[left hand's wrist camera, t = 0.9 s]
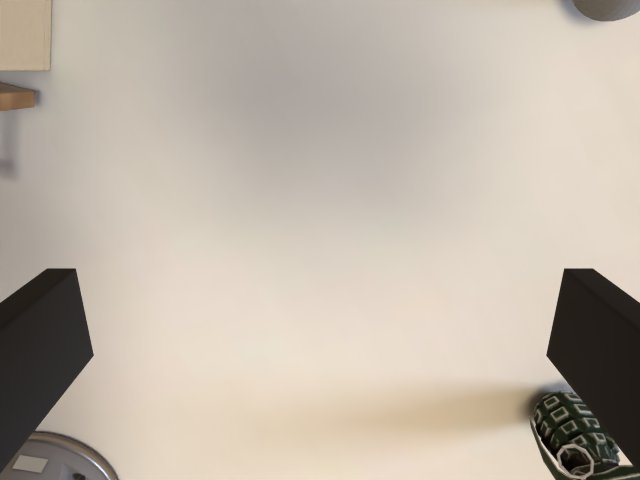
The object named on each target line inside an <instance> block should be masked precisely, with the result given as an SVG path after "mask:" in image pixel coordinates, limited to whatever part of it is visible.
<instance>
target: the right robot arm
mask: <svg viewBox="0 0 640 480" xmlns="http://www.w3.org/2000/svg"><path fill="white" fill-rule="evenodd" d="M0 480H117V478H116V476H115V474H114V472H113V471H112V469H111V468H110V467H109V465H108V464H107V463H106V462H105V461H104V460H103V459H102V458H101V457H100V456H99V455H98V454H96V453H95V452H94V451H92V450H91V449H89V448H87V447H86V446H84V445H82V444H80V443H78V442H76V441H74V440H71V439H68V438H66V437H62V436H59V435H54V434H49V433H38V432H33V433H32V434H31V435H30V437H29V438H28V439H27V441H26V442H25V443H24V444H23V446H22V447H21V448H20V449H19V451H18V452H17V453H16V454H15V456H14V457H13V458H12V460H11V461H10V462H9V463H8V465H7V466H6V467H5V468H4V470H3V471H2V472H1V473H0Z"/></svg>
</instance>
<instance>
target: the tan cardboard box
mask: <svg viewBox="0 0 640 480" xmlns="http://www.w3.org/2000/svg"><path fill="white" fill-rule="evenodd" d="M51 8H52V0H0V71H49V70H50V47H51Z"/></svg>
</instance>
